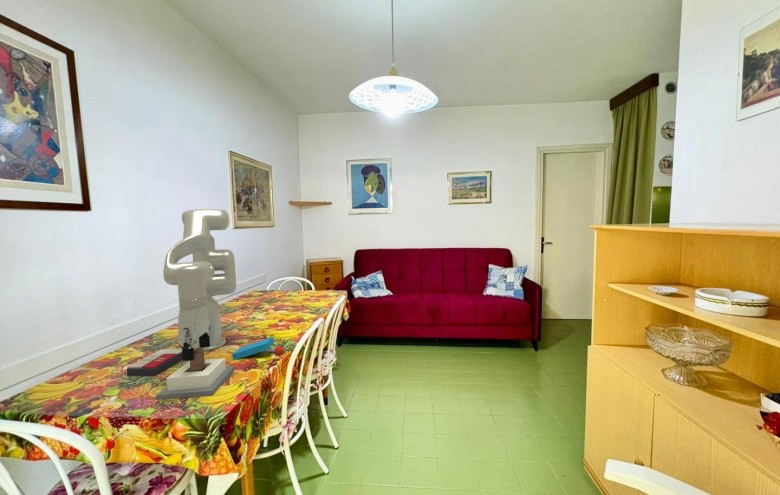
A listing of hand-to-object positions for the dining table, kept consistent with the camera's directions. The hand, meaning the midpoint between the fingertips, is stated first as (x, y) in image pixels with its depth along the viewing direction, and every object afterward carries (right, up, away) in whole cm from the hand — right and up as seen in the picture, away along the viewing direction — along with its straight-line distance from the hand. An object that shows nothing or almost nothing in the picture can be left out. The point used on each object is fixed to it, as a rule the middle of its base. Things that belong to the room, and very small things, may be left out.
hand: (197, 353), depth 96 cm
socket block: (+1, -10, 0) cm, 10 cm away
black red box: (-24, -11, +14) cm, 30 cm away
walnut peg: (+1, -9, 0) cm, 9 cm away
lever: (+11, -9, +22) cm, 26 cm away
